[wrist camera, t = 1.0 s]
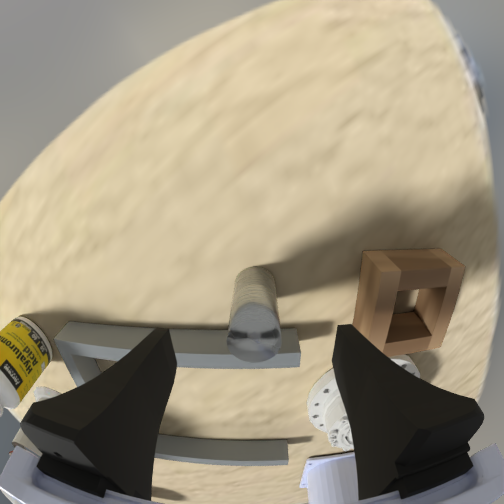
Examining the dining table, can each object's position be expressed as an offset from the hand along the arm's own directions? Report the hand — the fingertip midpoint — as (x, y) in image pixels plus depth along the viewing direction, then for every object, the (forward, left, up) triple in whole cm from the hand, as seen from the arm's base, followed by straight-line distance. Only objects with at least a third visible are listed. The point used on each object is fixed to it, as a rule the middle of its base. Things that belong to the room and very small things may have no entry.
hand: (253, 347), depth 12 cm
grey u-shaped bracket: (-11, +6, -6) cm, 14 cm away
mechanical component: (-11, -9, -6) cm, 15 cm away
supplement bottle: (-6, +21, -6) cm, 23 cm away
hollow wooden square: (-1, -10, -6) cm, 11 cm away
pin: (0, 0, -6) cm, 6 cm away
